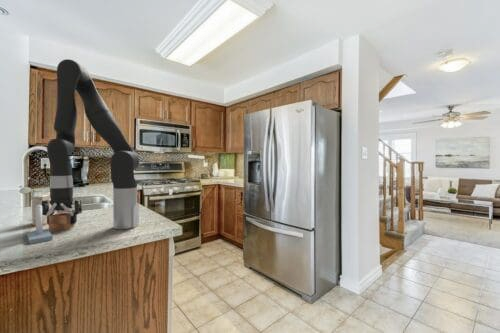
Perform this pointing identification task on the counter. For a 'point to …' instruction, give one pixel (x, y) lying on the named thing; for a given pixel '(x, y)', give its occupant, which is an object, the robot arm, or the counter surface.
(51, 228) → the brown wooden cube
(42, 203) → the robot arm
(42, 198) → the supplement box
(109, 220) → the counter surface
